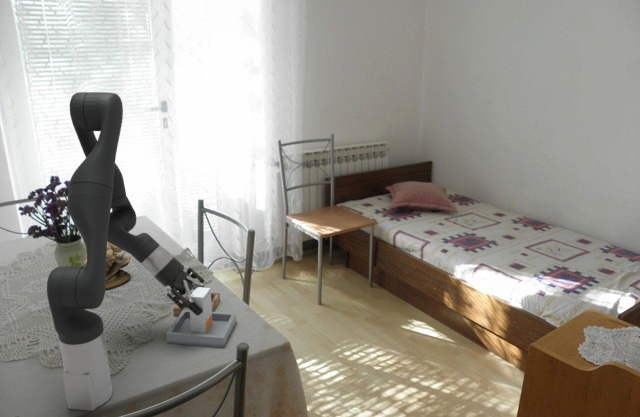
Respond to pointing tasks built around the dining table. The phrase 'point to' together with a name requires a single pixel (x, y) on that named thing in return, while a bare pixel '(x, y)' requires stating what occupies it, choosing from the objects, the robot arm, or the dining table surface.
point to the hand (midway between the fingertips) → (205, 305)
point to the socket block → (177, 310)
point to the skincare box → (205, 318)
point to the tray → (213, 337)
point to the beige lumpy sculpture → (115, 267)
